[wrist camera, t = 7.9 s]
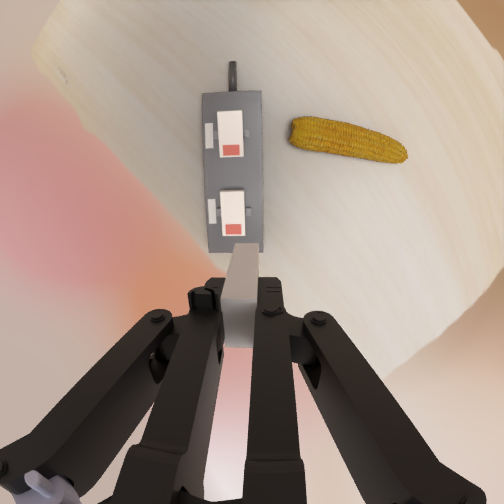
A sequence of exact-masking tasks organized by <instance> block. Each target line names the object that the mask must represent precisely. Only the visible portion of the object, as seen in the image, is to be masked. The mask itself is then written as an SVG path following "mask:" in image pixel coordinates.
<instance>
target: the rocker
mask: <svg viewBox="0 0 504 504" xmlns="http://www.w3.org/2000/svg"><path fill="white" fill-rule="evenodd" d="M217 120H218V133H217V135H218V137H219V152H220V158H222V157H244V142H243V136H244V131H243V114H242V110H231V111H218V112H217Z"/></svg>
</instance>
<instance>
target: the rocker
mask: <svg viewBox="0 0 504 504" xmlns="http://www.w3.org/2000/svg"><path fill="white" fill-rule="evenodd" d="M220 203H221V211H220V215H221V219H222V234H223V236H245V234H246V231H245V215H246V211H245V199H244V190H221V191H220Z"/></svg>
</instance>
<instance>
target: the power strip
mask: <svg viewBox="0 0 504 504" xmlns="http://www.w3.org/2000/svg"><path fill="white" fill-rule="evenodd" d="M231 110H242V114H243V131H244V136H243V142H244V157H222V158H220V152H219V137H218V135H217V133H218V120H217V112H218V111H231ZM202 123H203V158H204V182H205V202H206V218H207V234H208V247H209V253H233V249H234V246H235V243H259V252H263V163H262V103H261V91H237V76H236V62H235V61H231V62H229V92H216V93H204V94H202ZM221 190H244V199H245V211H246V215H245V231H246V234H245V236H223V234H222V219H221V215H220V211H221V203H220V191H221Z"/></svg>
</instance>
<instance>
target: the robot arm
mask: <svg viewBox="0 0 504 504" xmlns="http://www.w3.org/2000/svg"><path fill="white" fill-rule="evenodd" d="M188 299H189V307H190V311H189V313H188V314H187V315H183V316H179V317H172V313H171V312H170V311H168V310H165V309H156V310H152V311H150V312H148V313H147V314H145V315H144V317H142V318H141V319H140V320H139V321H138V322H137V323H136V324H135V325H134V326H133V327H132V328H131V329H130V330H129V331H128V332H127V333H126V334H125V335H124V336H123V337H122V338H121V339H120V340H119V341H118V342H117V343H116V344H115V345H114V346H113V347H112V348H111V349H110V350H109V351H108V352H107V353H106V354H105V355H104V356H103V357H102V358H101V359H100V360H99V361H98V362H97V363H96V364H95V365H94V366H93V367H92V368H91V369H90V370H89V371H88V372H87V373H86V374H85V375H84V376H83V377H82V378H81V379H80V380H79V381H78V382H77V383H76V384H75V386H74V387H73V388H72V389H71V390H70V391H69V392H68V393H67V394H66V395H65V396H64V397H63V398H62V399H61V400H60V401H59V403H57V404H56V406H55V407H54V408H53V409H52V410H51V411H50V412H49V413H48V414H47V415H46V416H45V417H44V418H43V419H42V421H41V422H40V423H39V424H38V425H37V426H36V427H35V428H34V429H33V430H32V432H31V433H30V434H28V435H26V436H24V437H22V438H20V439H19V440H17V441H15V442H13V443H11V444H9V445H7V446H5V447H4V448H2V449H0V486H2V487H3V488H5V489H6V490H8V491H9V492H10V493H11V494H12V496H13V498H14V500H15V502H16V504H82V503H81V502H80V500H79V498H80V497H82V496H83V495H85V494H86V493H87V492H88V491H89V490H90V489H91V488H92V487H93V486H94V485H95V484H96V483H97V481H98V480H99V479H100V478H101V476H102V475H103V474H104V472H105V471H106V469H107V468H108V467H109V465H110V464H111V462H112V461H113V460H114V458H115V457H116V455H117V454H118V452H119V451H120V450H121V448H122V447H123V445H124V444H125V443H126V441H127V440H128V438H129V437H130V436H131V434H132V433H133V431H134V430H135V428H136V427H137V426H138V424H139V423H140V421H141V420H142V418H143V417H144V416H145V414H146V413H147V411H148V410H149V408H150V407H151V406H152V404H153V403H154V405H153V408H152V411H151V414H150V416H149V419H148V422H147V425H146V428H145V431H144V434H143V437H142V439H141V441H140V443H139V444H136V445H132V446H131V447H130V448H129V450H128V452H127V454H126V456H125V459H124V462H123V465H122V468H121V471H120V474H119V477H118V480H117V483H116V486H115V489H114V492H113V495H112V496H110V497H109V498H107V499H105V500H103V501H102V502H100V503H98V504H307V498H306V482H305V470H304V463H303V460H302V459H301V457H300V449H299V436H298V424H297V412H296V400H295V390H294V379H293V369H292V362H294V363H298V367H299V369H300V371H301V373H302V376H303V378H304V379H305V382H306V384H307V386H308V388H309V390H310V392H311V394H312V396H313V398H314V400H315V402H316V404H317V407H318V409H319V410H320V413H321V414H322V417H323V419H324V421H325V423H326V425H327V427H328V429H329V431H330V433H331V435H332V437H333V439H334V441H335V443H336V445H337V448H338V449H339V452H340V454H341V456H342V458H343V460H344V462H345V464H346V466H347V468H348V470H349V472H350V474H351V476H352V478H353V480H354V482H355V484H356V486H357V488H358V490H359V492H360V494H361V496H362V498H363V500H364V501H365V503H366V504H486V495H485V493H484V492H483V490H481V488H479V487H478V486H476V485H474V484H473V483H471V482H469V481H468V480H466V479H465V478H463V477H462V476H460V475H459V474H457V473H456V472H454V471H452V470H451V469H449V468H448V467H446V466H445V465H443V464H442V463H440V462H439V460H438V459H437V458H436V456H435V455H434V453H433V452H432V450H431V449H430V447H429V446H428V445H427V443H426V442H425V440H424V439H423V437H422V436H421V435H420V433H419V432H418V430H417V429H416V428H415V426H414V425H413V423H412V422H411V420H410V419H409V418H408V416H407V415H406V414H405V412H404V411H403V410H402V408H401V407H400V405H399V404H398V402H397V401H396V400H395V398H394V397H393V396H392V394H391V393H390V392H389V390H388V389H387V387H386V386H385V385H384V383H383V382H382V381H381V379H380V378H379V377H378V375H377V374H376V373H375V371H374V370H373V369H372V367H371V366H370V365H369V363H368V362H367V361H366V359H365V358H364V357H363V355H362V354H361V353H360V351H359V350H358V349H357V347H356V346H355V345H354V343H353V342H352V341H351V339H350V338H349V337H348V336H347V334H346V333H345V332H344V330H343V329H342V328H341V326H340V325H339V324H338V323H337V321H336V320H335V319H334V317H333V316H331V315H330V314H329V313H326V312H323V311H312V312H309V313H307V314H306V315H304V318H299V317H295V316H292V315H290V314H288V313H287V312H286V310H285V308H284V303H283V294H282V286H281V281H280V280H279V279H278V278H277V277H259V243H235V246H234V249H233V253H232V257H231V260H230V264H229V268H228V272H227V275H226V278H210V279H209V280H208V281H207V282H206V283H205V286H203V287H197V288H194V289H192V290H190V291H189V292H188ZM224 343H225V347H238V348H240V347H241V348H253V360H252V376H251V394H250V410H249V426H248V442H247V456H246V461H245V469H244V483H243V497H242V498H241V499H235V500H226V501H217V502H210V501H207V500H204V486H203V480H204V473H205V466H206V460H207V454H208V448H209V441H210V434H211V429H212V422H213V416H214V411H215V404H216V398H217V392H218V386H219V380H220V374H221V368H222V363H223V357H224V351H223V344H224ZM152 353H153V354H152ZM151 354H152V355H151ZM154 401H155V402H154Z"/></svg>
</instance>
